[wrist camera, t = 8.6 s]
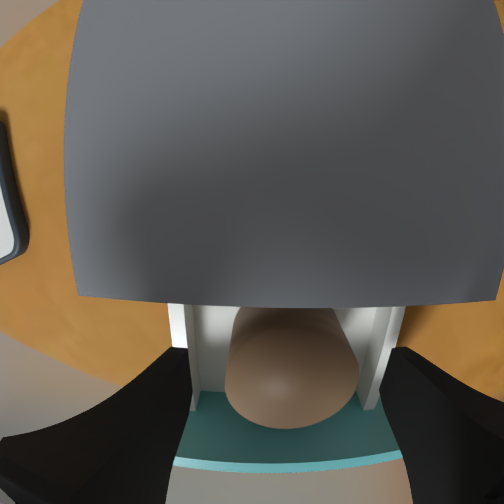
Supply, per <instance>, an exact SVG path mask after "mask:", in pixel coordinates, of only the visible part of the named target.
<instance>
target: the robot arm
mask: <svg viewBox="0 0 504 504" xmlns="http://www.w3.org/2000/svg"><path fill="white" fill-rule="evenodd" d="M379 393H380V397H381V401H382V405H383V409H384V412H385V415H386V417H387V420H388V422H389V425H390V427H391V429H392V432H393V434H394V437H395V439H396V442H397V444H398V446H399V449H400V451H401V454H402V456H403V459H404V462H405V466H406V470H407V474H408V478H409V482H410V488H411V493H412V499H413V504H504V402H501V401H499V400H496V399H494V398H491V397H489V396H487V395H485V394H483V393H481V392H479V391H477V390H475V389H473V388H471V387H469V386H467V385H466V384H464V383H462V382H461V381H459V380H457V379H456V378H454V377H452V376H451V375H449V374H448V373H446V372H445V371H443V370H442V369H440V368H439V367H437V366H436V365H434V364H433V363H431V362H430V361H428V360H427V359H425V358H424V357H422V356H421V355H419V354H418V353H416V352H415V351H413V350H411V349H409V348H408V347H397V348H392V349H391V353H390V356H389V359H388V363H387V366H386V369H385V372H384V375H383V378H382V381H381V384H380V387H379ZM192 394H193V388H192V380H191V372H190V364H189V355H188V348H180V347H170V348H169V349H168V350H166V351H165V352H164V353H163V354H162V355H161V356H160V357H159V358H157V359H156V360H155V361H154V362H153V363H152V364H151V365H150V366H149V367H147V368H146V369H145V370H144V371H143V372H142V373H140V374H139V375H138V376H137V377H136V378H135V379H133V380H132V381H131V382H130V383H128V384H127V385H126V386H124V387H123V388H122V389H120V390H119V391H118V392H116V393H115V394H114V395H112V396H111V397H109V398H107V399H106V400H104V401H103V402H101V403H100V404H98V405H96V406H95V407H93V408H91V409H89V410H87V411H85V412H83V413H81V414H79V415H77V416H74V417H72V418H70V419H68V420H66V421H63V422H61V423H58V424H55V425H52V426H50V427H47V428H43V429H40V430H37V431H33V432H29V433H25V434H19V435H14V436H9V437H3V438H2V440H1V441H0V488H1V489H2V490H3V491H4V492H5V493H6V494H7V495H8V496H9V497H10V498H11V499H12V500H13V501H14V502H15V504H165V501H166V495H167V490H168V484H169V479H170V473H171V469H172V466H173V462H174V459H175V456H176V453H177V450H178V447H179V444H180V441H181V438H182V435H183V432H184V428H185V425H186V422H187V419H188V416H189V411H190V406H191V400H192ZM0 504H6V503H5V502H3V501H2V500H0Z"/></svg>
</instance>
